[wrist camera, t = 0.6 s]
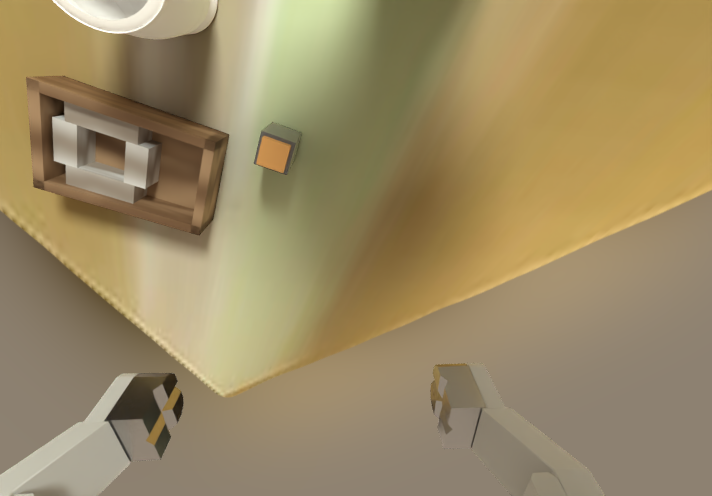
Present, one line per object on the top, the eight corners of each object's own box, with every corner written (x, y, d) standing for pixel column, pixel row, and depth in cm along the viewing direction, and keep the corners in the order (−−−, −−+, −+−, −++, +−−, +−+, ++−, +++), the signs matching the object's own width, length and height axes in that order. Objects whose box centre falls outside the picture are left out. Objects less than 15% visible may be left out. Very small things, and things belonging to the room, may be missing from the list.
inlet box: (63, 75, 41) (26, 77, 36) (229, 134, 45) (215, 142, 40) (65, 174, 47) (33, 187, 42) (213, 219, 51) (199, 235, 46)
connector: (272, 122, 44) (259, 132, 37) (301, 132, 45) (294, 144, 38) (265, 151, 46) (251, 166, 39) (293, 160, 47) (285, 177, 40)
